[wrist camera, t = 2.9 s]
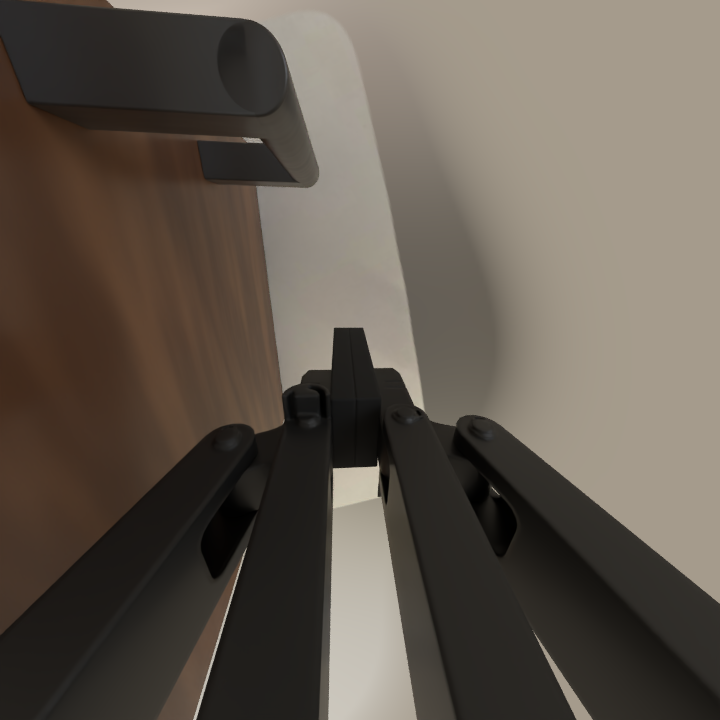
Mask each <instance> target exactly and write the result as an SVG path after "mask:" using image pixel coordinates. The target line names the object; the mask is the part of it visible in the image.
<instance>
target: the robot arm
mask: <svg viewBox="0 0 720 720" xmlns="http://www.w3.org/2000/svg"><path fill="white" fill-rule="evenodd" d="M282 403H283V411H284V419H285V421H284V424H283V425H281V426H279V427H277V428H275V429H272V430H269V431H265V432H261V433H257V434H255V432H254V429H253V428H252V427H251V426H249V425H246V424H242V423H239V424H229V425H225V426H221V427H219V428H217V429H215V430H213V431H211V432H210V433H209V434H207V435H206V436H205V437H204V438H203V439H202V440H201V441H200V442H199V443H198V444H197V445H195V446H194V447H193V448H192V449H191V450H190V451H189V452H188V453H187V454H186V455H185V456H184V457H183V458H182V459H181V460H180V461H179V462H178V463H177V464H176V465H175V466H174V467H173V468H172V469H171V470H170V471H169V472H168V473H167V474H166V475H165V476H164V477H163V478H162V479H161V480H159V481H158V482H157V483H156V484H155V485H154V486H153V487H152V488H151V489H150V490H149V491H148V492H147V493H146V494H145V495H144V496H143V497H142V498H141V499H140V500H139V501H138V502H137V503H136V504H135V505H134V506H133V507H132V508H131V509H130V510H129V511H128V512H127V513H126V514H125V515H123V516H122V517H121V518H120V519H119V520H118V521H117V522H116V523H115V524H114V525H113V526H112V527H111V528H110V529H109V530H108V531H107V532H106V533H105V534H104V535H103V536H102V537H101V538H100V539H99V540H98V541H97V542H96V543H95V544H94V545H93V546H92V547H91V548H90V549H89V550H87V551H86V552H85V553H84V554H83V555H82V556H81V557H80V558H79V559H78V560H77V561H76V562H75V563H74V564H73V565H72V566H71V567H70V568H69V569H68V570H67V571H66V572H65V573H64V574H63V575H62V576H61V577H60V578H59V579H58V580H57V581H56V582H55V583H54V584H53V585H51V586H50V587H49V588H48V589H47V590H46V591H45V592H44V593H43V594H42V595H41V596H40V597H39V598H38V599H37V600H36V601H35V602H34V603H33V604H32V605H31V606H30V607H29V608H28V609H27V610H26V611H25V612H24V613H23V614H22V615H21V616H20V617H19V618H18V619H17V620H15V621H14V622H13V623H12V624H11V625H10V626H9V627H8V628H7V629H6V630H5V631H4V632H3V633H2V634H1V635H0V720H157V718H158V716H159V714H160V712H161V711H162V709H163V707H164V705H165V703H166V701H167V699H168V697H169V695H170V693H171V691H172V689H173V688H174V686H175V684H176V682H177V680H178V678H179V676H180V674H181V672H182V670H183V668H184V666H185V665H186V663H187V661H188V659H189V657H190V655H191V653H192V651H193V649H194V647H195V645H196V643H197V642H198V640H199V638H200V636H201V634H202V632H203V630H204V628H205V626H206V624H207V622H208V621H209V619H210V617H211V615H212V613H213V611H214V609H215V607H216V605H217V603H218V601H219V599H220V598H221V596H222V594H223V592H224V590H225V588H226V586H227V584H228V582H229V580H230V578H231V576H232V575H233V573H234V571H235V569H236V567H237V565H238V563H239V561H240V559H241V557H242V555H243V553H244V551H245V549H246V548H247V550H246V553H245V556H244V560H243V563H242V567H241V570H240V573H239V577H238V580H237V584H236V587H235V590H234V594H233V597H232V601H231V604H230V607H229V611H228V614H227V618H226V621H225V624H224V628H223V631H222V634H221V638H220V642H219V645H218V648H217V651H216V655H215V659H214V662H213V665H212V668H211V672H210V675H209V679H208V682H207V685H206V689H205V692H204V696H203V699H202V702H201V706H200V709H199V713H198V716H197V719H196V720H328V700H329V654H330V608H331V561H332V514H333V513H332V512H333V468H352V467H375V466H377V460H378V461H379V467H380V471H379V485H378V497H382V503H383V509H384V516H385V522H386V528H387V534H388V541H389V547H390V553H391V559H392V566H393V572H394V578H395V584H396V590H397V596H398V603H399V609H400V615H401V622H402V628H403V634H404V640H405V647H406V653H407V659H408V666H409V671H410V678H411V684H412V690H413V697H414V703H415V709H416V715H417V720H576V718H575V716H574V714H573V712H572V710H571V708H570V706H569V704H568V702H567V700H566V698H565V696H564V694H563V691H562V689H561V687H560V685H559V683H558V681H557V679H556V677H555V675H554V673H553V671H552V669H551V667H550V665H549V663H548V661H547V659H546V657H545V655H544V653H543V651H542V649H541V647H540V645H539V642H538V641H537V638H536V636H535V634H536V635H537V637H538V638H539V640H540V641H541V643H542V645H543V646H544V647H545V649H546V650H547V652H548V653H549V655H550V656H551V658H552V659H553V661H554V662H555V664H556V665H557V667H558V668H559V670H560V671H561V673H562V674H563V676H564V677H565V679H566V680H567V682H568V683H569V685H570V686H571V688H572V689H573V691H574V692H575V694H576V695H577V696H578V698H579V700H580V701H581V703H582V704H583V706H584V707H585V708H586V710H587V711H588V713H589V714H590V716H591V717H592V719H593V720H720V604H719V603H718V602H717V601H716V600H714V599H713V598H712V597H711V596H709V595H708V594H707V593H706V592H705V591H703V590H702V589H701V588H700V587H698V586H697V585H696V584H695V583H693V582H692V581H691V580H690V579H689V578H687V577H686V576H685V575H684V574H682V573H681V572H680V571H679V570H677V569H676V568H675V567H674V566H673V565H671V564H670V563H669V562H668V561H666V560H665V559H664V558H663V557H662V556H660V555H659V554H658V553H657V552H655V551H654V550H653V549H651V548H650V547H649V546H648V545H647V544H646V543H644V542H643V541H642V540H641V539H639V538H638V537H637V536H636V535H634V534H633V533H632V532H631V531H629V530H628V529H627V528H626V527H625V526H623V525H622V524H621V523H620V522H619V521H617V520H616V519H615V518H614V517H612V516H611V515H610V514H608V513H607V512H606V511H605V510H604V509H603V508H601V507H600V506H599V505H598V504H596V503H595V502H594V501H593V500H591V499H590V498H589V497H588V496H586V495H585V494H584V493H583V492H582V491H580V490H579V489H578V488H577V487H576V486H574V485H573V484H572V483H571V482H569V481H568V480H567V479H566V478H564V477H563V476H562V475H561V474H560V473H558V472H557V471H556V470H555V469H553V468H552V467H551V466H550V465H548V464H547V463H546V462H544V460H542V459H541V458H540V457H539V456H537V455H536V454H535V453H534V452H533V451H531V450H530V449H529V448H528V447H526V446H525V445H524V444H523V443H521V442H520V441H519V440H518V439H517V438H515V437H514V436H513V435H512V434H510V433H509V432H508V431H507V430H505V429H504V428H503V427H502V426H501V425H499V424H497V423H496V422H494V421H492V420H490V419H488V418H485V417H481V416H476V415H467V416H464V417H461V418H460V419H459V420H458V421H457V423H456V427H455V426H449V425H444V424H439V423H435V422H432V421H430V420H429V418H428V416H427V415H426V414H425V412H424V411H423V410H421V409H420V408H418V407H416V406H414V404H413V402H412V400H411V397H410V395H409V393H408V391H407V388H405V384H404V382H403V380H402V377H401V375H400V373H398V372H397V371H396V370H394V369H393V368H373V364H372V360H371V356H370V353H369V349H368V345H367V341H366V337H365V334H364V330H363V328H334V338H333V356H332V370H309V371H308V372H307V373H306V374H304V375H303V376H302V380H301V384H298V385H295V386H292V387H290V388H289V389H287V390H286V391H285V392H284V393H283V394H282ZM492 487H493V488H494V489H495V490H496V491H497V492H498V493H499V494H500V495H498V494H497V493H496V492H495V491H494V490H493V489H492ZM533 631H534V632H533ZM534 633H535V634H534Z"/></svg>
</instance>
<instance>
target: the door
mask: <svg viewBox="0 0 720 720" xmlns="http://www.w3.org/2000/svg"><path fill="white" fill-rule="evenodd" d="M242 137H246V138H260V139H261V141H262V142H263V143H247V142H246V141H245V140H244V139H243V138H242ZM318 177H319V168H318V164H317V161H316V158H315V154H314V151H313V148H312V144H311V141H310V138H309V135H308V131H307V128H306V125H305V121H304V118H303V115H302V111H301V108H300V105H299V101H298V98H297V95H296V91H295V88H294V85H293V82H292V78H291V75H290V72H289V68H288V65H287V62H286V58H285V55H284V53H283V50H282V48H281V46H280V45H279V43H278V41H277V40H276V38H275V37H274V36H273V35H272V33H271V32H270V31H269V30H267V29H266V28H265V27H264V26H262V25H261V24H259V23H257V22H254V21H252V20H246V19H241V18H228V17H216V16H203V15H192V14H180V13H168V12H156V11H143V10H132V9H119V8H113V6H112V5H111V4H110V3H108V1H107V0H0V635H1V634H2V633H3V632H4V631H5V630H6V629H7V628H8V627H9V626H10V625H11V624H12V623H13V622H14V621H15V620H17V619H18V618H19V617H20V616H21V615H22V614H23V613H24V612H25V611H26V610H27V609H28V608H29V607H30V606H31V605H32V604H33V603H34V602H35V601H36V600H37V599H38V598H39V597H40V596H41V595H42V594H43V593H44V592H45V591H46V590H47V589H48V588H49V587H50V586H51V585H53V584H54V583H55V582H56V581H57V580H58V579H59V578H60V577H61V576H62V575H63V574H64V573H65V572H66V571H67V570H68V569H69V568H70V567H71V566H72V565H73V564H74V563H75V562H76V561H77V560H78V559H79V558H80V557H81V556H82V555H83V554H84V553H85V552H86V551H87V550H89V549H90V548H91V547H92V546H93V545H94V544H95V543H96V542H97V541H98V540H99V539H100V538H101V537H102V536H103V535H104V534H105V533H106V532H107V531H108V530H109V529H110V528H111V527H112V526H113V525H114V524H115V523H116V522H117V521H118V520H119V519H120V518H121V517H122V516H123V515H125V514H126V513H127V512H128V511H129V510H130V509H131V508H132V507H133V506H134V505H135V504H136V503H137V502H138V501H139V500H140V499H141V498H142V497H143V496H144V495H145V494H146V493H147V492H148V491H149V490H150V489H151V488H152V487H153V486H154V485H155V484H156V483H157V482H158V481H159V480H161V479H162V478H163V477H164V476H165V475H166V474H167V473H168V472H169V471H170V470H171V469H172V468H173V467H174V466H175V465H176V464H177V463H178V462H179V461H180V460H181V459H182V458H183V457H184V456H185V455H186V454H187V453H188V452H189V451H190V450H191V449H192V448H193V447H194V446H195V445H197V444H198V443H199V442H200V441H201V440H202V439H203V438H204V437H205V436H206V435H207V434H209V433H210V432H211V431H213V430H215V429H217V428H219V427H221V426H225V425H229V424H239V423H242V424H246V425H249V426H251V427H252V428H253V429H254V432H255V434H257V433H261V432H265V431H269V430H272V429H275V428H277V427H279V426H281V425H282V424H283V421H284V411H283V403H282V388H281V380H280V372H279V364H278V356H277V348H276V341H275V333H274V325H273V317H272V309H271V301H270V294H269V286H268V278H267V270H266V262H265V254H264V247H263V239H262V231H261V223H260V215H259V207H258V199H257V192H256V186H272V187H299V188H308V187H311V186H313V185H314V184H315V183H316V182H317V180H318ZM242 556H243V555H242ZM241 560H242V557H241V559H240V561H239V563H238V565H237V567H236V569H235V571H234V573H233V575H232V576H231V578H230V580H229V582H228V584H227V586H226V588H225V590H224V592H223V594H222V596H221V598H220V599H219V601H218V603H217V605H216V607H215V609H214V611H213V613H212V615H211V617H210V619H209V621H208V622H207V624H206V626H205V628H204V630H203V632H202V634H201V636H200V638H199V640H198V642H197V643H196V645H195V647H194V649H193V651H192V653H191V655H190V657H189V659H188V661H187V663H186V665H185V666H184V668H183V670H182V672H181V674H180V676H179V678H178V680H177V682H176V684H175V686H174V688H173V689H172V691H171V693H170V695H169V697H168V699H167V701H166V703H165V705H164V707H163V709H162V711H161V712H160V714H159V716H158V718H157V720H193V718H194V715H195V712H196V708H197V705H198V702H199V699H200V695H201V692H202V689H203V685H204V682H205V679H206V675H207V672H208V669H209V665H210V662H211V659H212V656H213V652H214V649H215V646H216V642H217V639H218V636H219V632H220V629H221V626H222V622H223V619H224V616H225V612H226V609H227V606H228V603H229V599H230V596H231V593H232V590H233V586H234V583H235V580H236V576H237V573H238V570H239V566H240V563H241Z"/></svg>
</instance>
